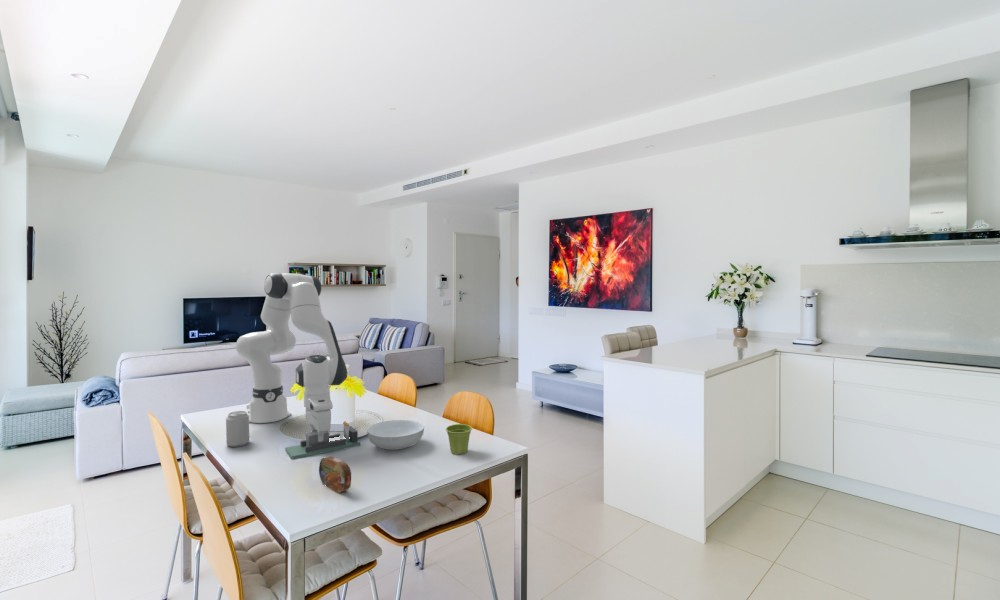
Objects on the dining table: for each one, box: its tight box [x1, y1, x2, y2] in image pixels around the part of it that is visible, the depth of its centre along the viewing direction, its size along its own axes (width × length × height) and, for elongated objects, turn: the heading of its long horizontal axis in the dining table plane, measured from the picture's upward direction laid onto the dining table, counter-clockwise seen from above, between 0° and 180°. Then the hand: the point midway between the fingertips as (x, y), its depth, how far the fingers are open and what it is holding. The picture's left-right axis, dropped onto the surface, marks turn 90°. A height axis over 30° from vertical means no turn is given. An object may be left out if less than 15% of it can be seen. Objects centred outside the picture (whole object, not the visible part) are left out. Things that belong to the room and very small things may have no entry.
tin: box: [318, 455, 352, 494], centre depth 138 cm, size 15×3×8 cm, turn 48°
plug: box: [305, 431, 330, 446], centre depth 169 cm, size 4×7×5 cm, turn 126°
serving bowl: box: [366, 419, 425, 451], centre depth 173 cm, size 21×21×7 cm
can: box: [225, 410, 250, 448], centre depth 173 cm, size 8×8×12 cm
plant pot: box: [445, 423, 473, 455], centre depth 167 cm, size 9×9×9 cm
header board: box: [284, 421, 361, 460], centre depth 170 cm, size 10×24×8 cm, turn 126°
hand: (317, 437), depth 169 cm, fingers open, 6 cm apart
